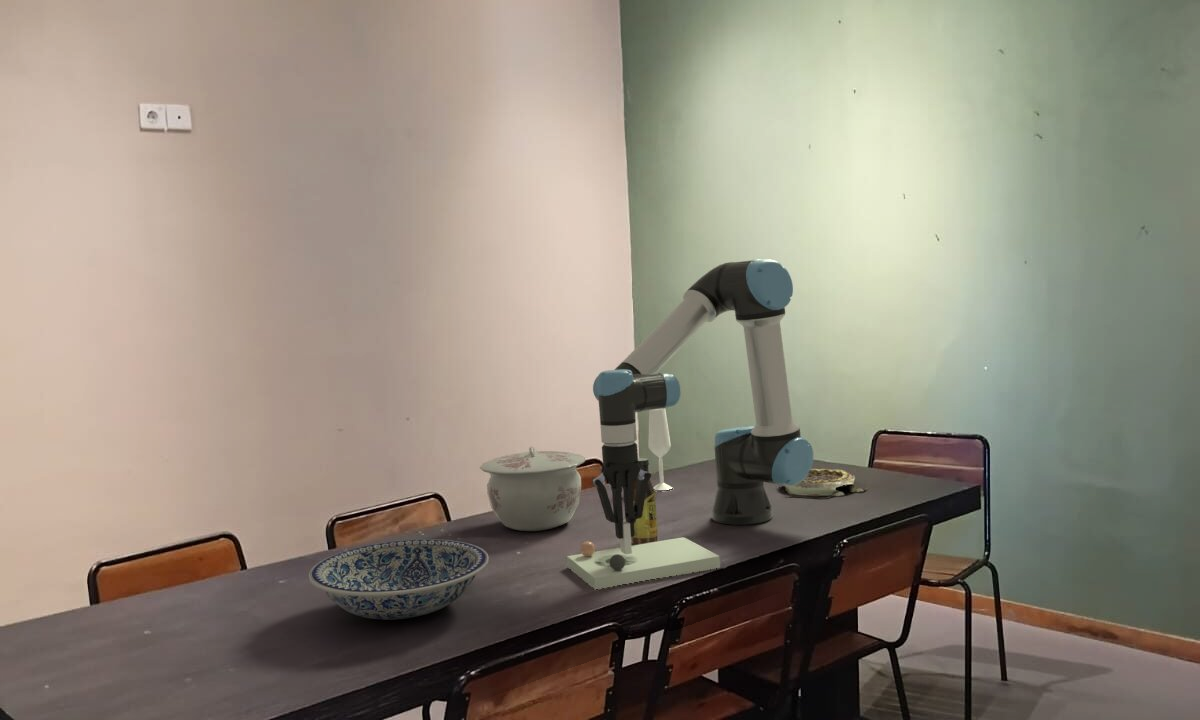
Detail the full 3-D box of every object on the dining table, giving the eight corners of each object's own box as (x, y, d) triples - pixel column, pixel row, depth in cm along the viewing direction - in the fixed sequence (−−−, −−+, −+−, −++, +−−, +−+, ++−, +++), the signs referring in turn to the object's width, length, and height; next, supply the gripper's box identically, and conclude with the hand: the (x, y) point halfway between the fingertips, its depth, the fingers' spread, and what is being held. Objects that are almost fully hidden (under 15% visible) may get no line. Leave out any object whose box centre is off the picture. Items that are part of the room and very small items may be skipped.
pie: (751, 496, 267) (750, 479, 267) (790, 478, 289) (789, 462, 289) (848, 503, 251) (847, 485, 251) (881, 483, 273) (881, 466, 273)
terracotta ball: (592, 553, 209) (591, 538, 209) (597, 556, 206) (596, 542, 206) (578, 555, 208) (577, 541, 208) (583, 559, 205) (582, 544, 205)
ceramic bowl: (407, 655, 163) (402, 598, 162) (274, 628, 181) (269, 576, 181) (526, 594, 192) (523, 545, 191) (401, 576, 210) (397, 531, 209)
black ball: (622, 566, 198) (621, 551, 197) (627, 570, 195) (626, 555, 194) (607, 569, 196) (606, 554, 196) (613, 573, 193) (612, 557, 193)
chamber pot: (526, 545, 229) (520, 460, 227) (464, 528, 250) (457, 450, 248) (613, 520, 247) (607, 442, 246) (547, 507, 268) (542, 434, 266)
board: (684, 547, 218) (683, 537, 217) (720, 567, 201) (719, 556, 200) (567, 567, 208) (567, 556, 208) (595, 590, 191) (594, 577, 191)
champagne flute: (651, 487, 286) (646, 407, 284) (674, 486, 285) (669, 406, 283) (649, 491, 279) (644, 410, 277) (672, 491, 278) (667, 409, 276)
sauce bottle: (656, 546, 220) (650, 461, 219) (629, 546, 222) (624, 462, 220) (660, 539, 227) (655, 456, 225) (634, 539, 228) (629, 457, 226)
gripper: (641, 437, 207) (647, 543, 209) (584, 444, 203) (591, 552, 204) (654, 441, 200) (661, 551, 202) (596, 449, 196) (603, 561, 197)
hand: (626, 552), depth 203 cm, fingers closed
